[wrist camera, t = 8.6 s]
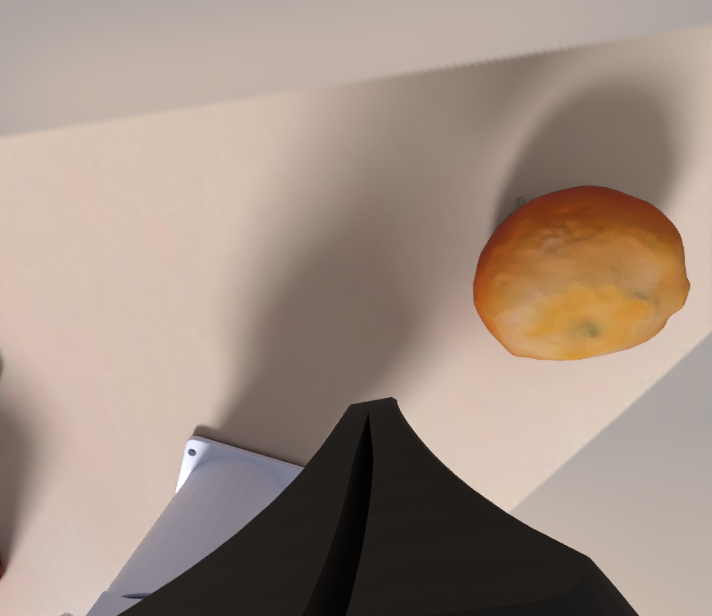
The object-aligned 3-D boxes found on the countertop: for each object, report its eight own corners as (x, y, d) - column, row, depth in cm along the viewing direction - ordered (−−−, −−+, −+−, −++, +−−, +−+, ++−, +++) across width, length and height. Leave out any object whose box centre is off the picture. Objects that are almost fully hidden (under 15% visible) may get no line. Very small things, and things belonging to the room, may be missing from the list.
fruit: (669, 168, 16) (801, 276, 11) (569, 291, 22) (620, 404, 16) (501, 131, 16) (543, 220, 10) (444, 264, 22) (451, 369, 16)
